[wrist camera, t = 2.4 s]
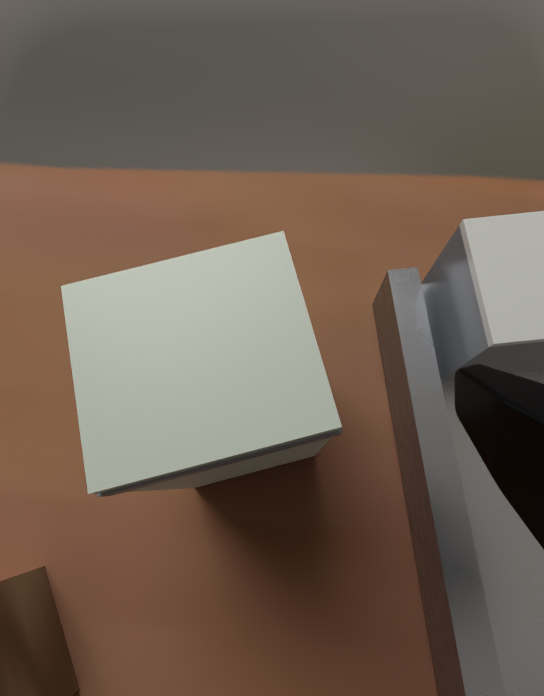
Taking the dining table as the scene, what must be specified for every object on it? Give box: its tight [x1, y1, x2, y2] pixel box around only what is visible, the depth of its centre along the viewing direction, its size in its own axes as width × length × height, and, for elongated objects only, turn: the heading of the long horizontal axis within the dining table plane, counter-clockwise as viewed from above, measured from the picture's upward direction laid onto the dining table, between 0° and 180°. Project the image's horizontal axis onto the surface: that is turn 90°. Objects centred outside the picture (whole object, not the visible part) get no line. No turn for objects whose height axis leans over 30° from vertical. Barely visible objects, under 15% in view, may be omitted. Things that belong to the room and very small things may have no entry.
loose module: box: [61, 231, 342, 497], centre depth 13 cm, size 4×5×9 cm
